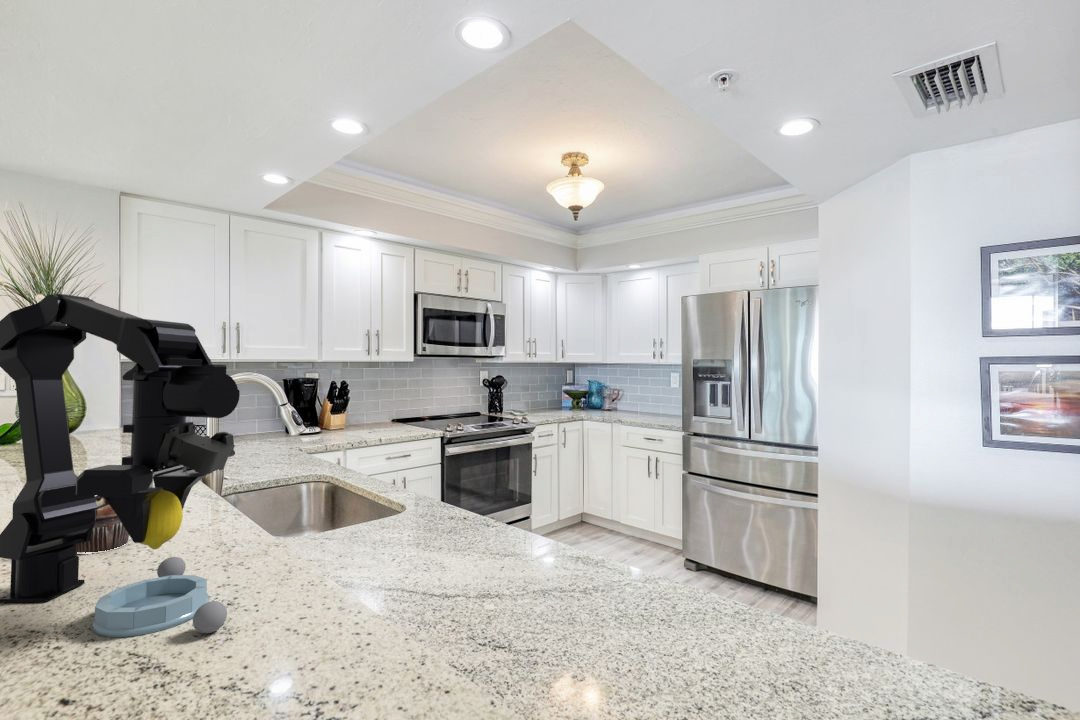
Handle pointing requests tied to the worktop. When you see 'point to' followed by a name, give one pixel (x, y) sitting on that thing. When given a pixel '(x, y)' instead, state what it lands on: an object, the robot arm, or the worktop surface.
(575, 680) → the worktop surface
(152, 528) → the lemon
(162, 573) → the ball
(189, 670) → the worktop surface
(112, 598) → the dish
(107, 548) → the cupcake
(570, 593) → the worktop surface
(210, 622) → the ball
